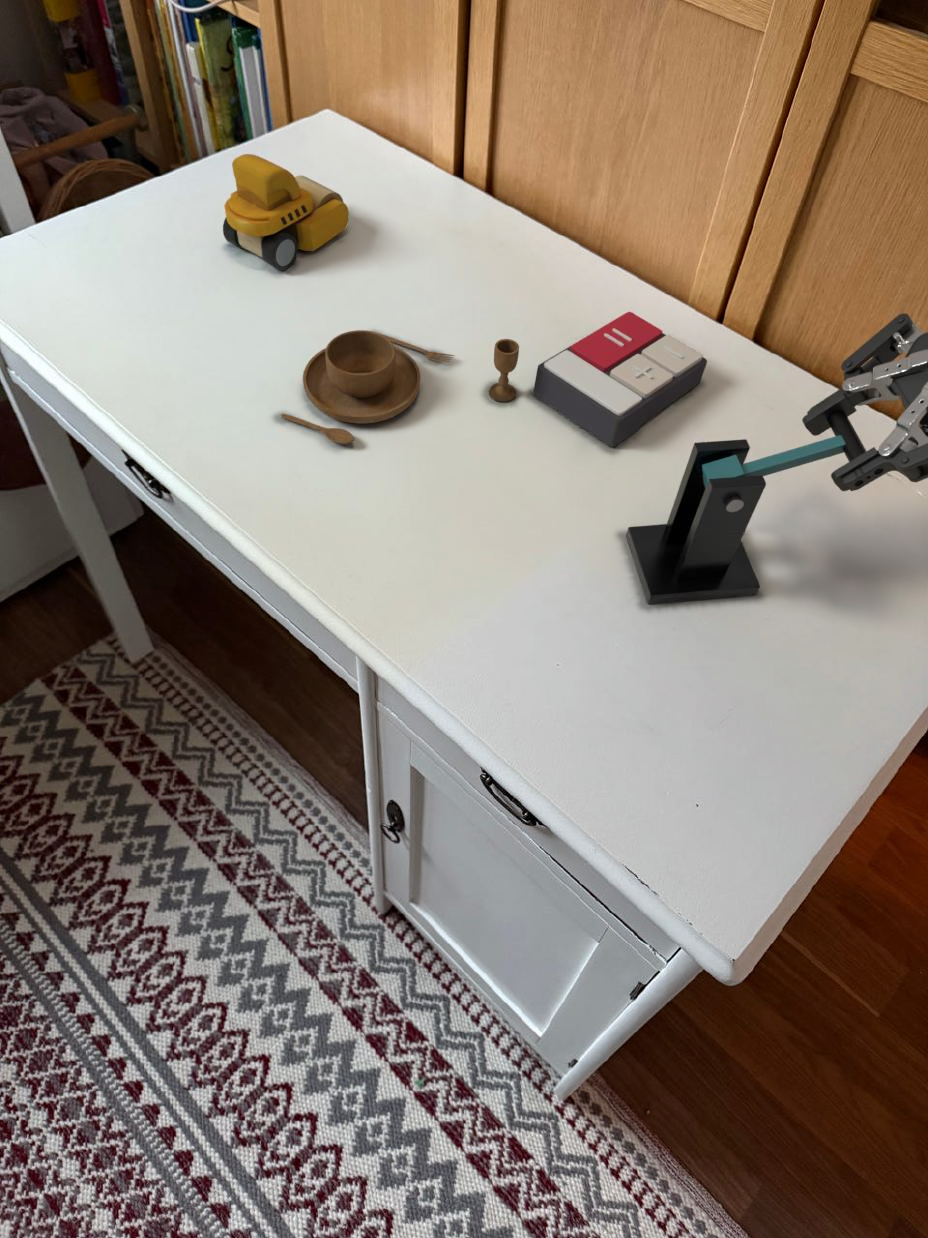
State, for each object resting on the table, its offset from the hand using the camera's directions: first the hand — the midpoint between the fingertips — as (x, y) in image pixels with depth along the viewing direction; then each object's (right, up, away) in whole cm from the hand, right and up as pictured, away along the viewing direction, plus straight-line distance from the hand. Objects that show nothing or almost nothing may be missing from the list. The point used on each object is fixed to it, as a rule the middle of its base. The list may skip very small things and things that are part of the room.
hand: (822, 454), depth 72 cm
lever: (-3, -1, +1) cm, 3 cm away
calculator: (-12, +11, +23) cm, 29 cm away
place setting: (-35, +9, +21) cm, 42 cm away
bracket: (-8, -8, +10) cm, 15 cm away
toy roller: (-50, +32, +36) cm, 69 cm away
